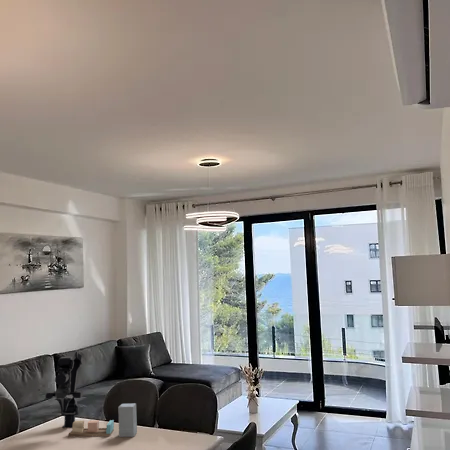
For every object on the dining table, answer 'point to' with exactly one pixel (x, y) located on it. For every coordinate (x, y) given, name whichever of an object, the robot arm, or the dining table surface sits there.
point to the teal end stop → (110, 426)
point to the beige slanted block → (78, 426)
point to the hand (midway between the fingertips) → (63, 411)
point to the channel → (90, 433)
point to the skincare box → (127, 420)
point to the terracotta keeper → (93, 426)
